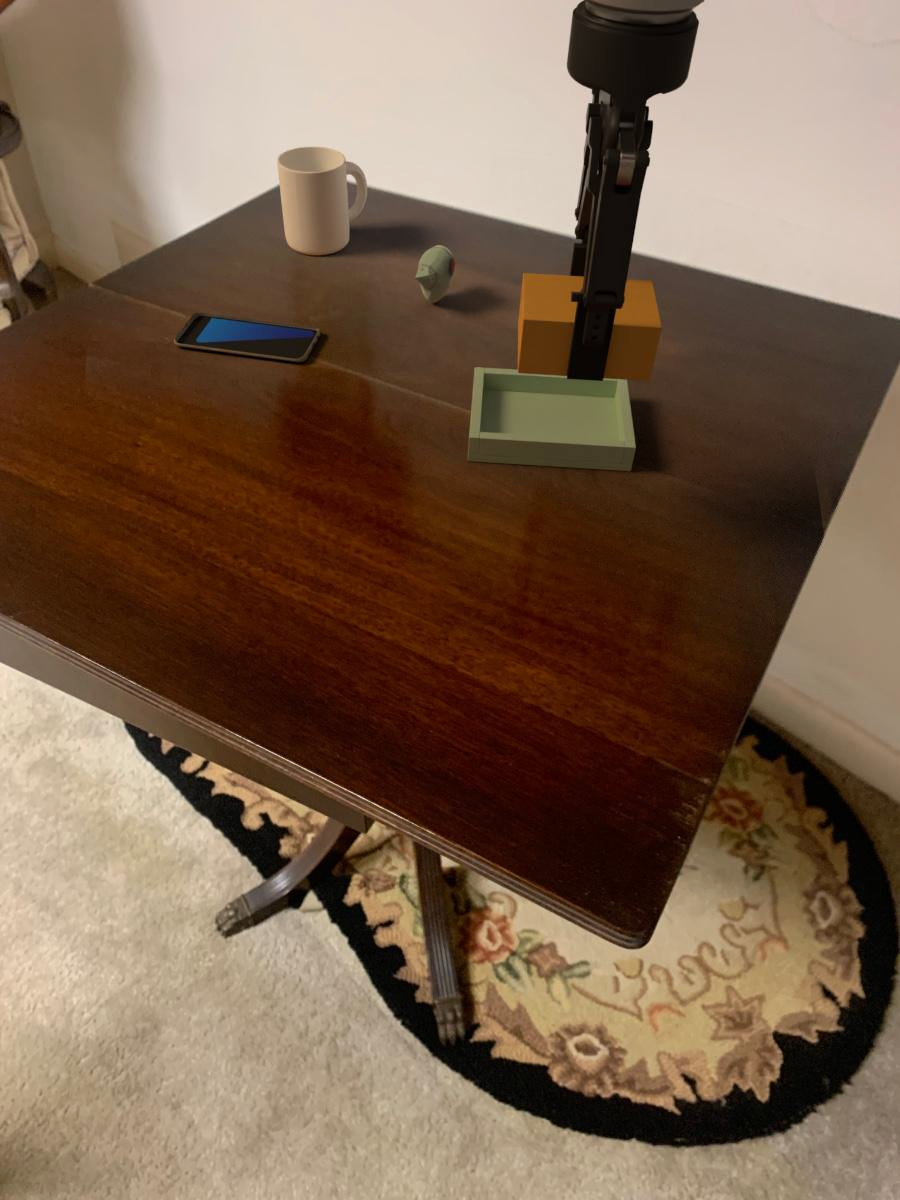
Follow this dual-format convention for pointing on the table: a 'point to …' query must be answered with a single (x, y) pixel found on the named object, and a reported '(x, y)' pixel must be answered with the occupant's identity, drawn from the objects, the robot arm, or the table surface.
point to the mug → (318, 198)
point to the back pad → (553, 321)
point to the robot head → (435, 272)
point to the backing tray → (550, 421)
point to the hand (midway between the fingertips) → (582, 349)
